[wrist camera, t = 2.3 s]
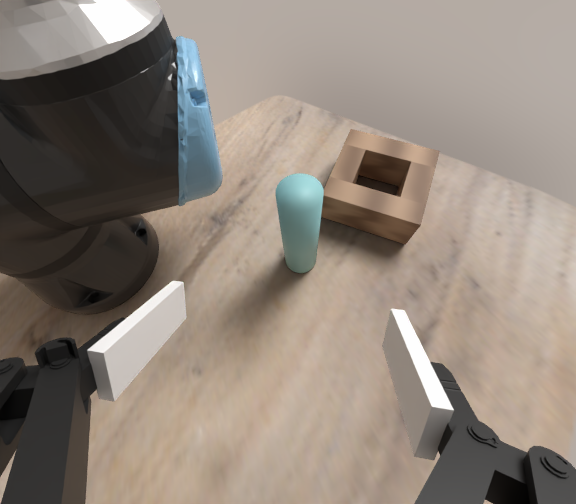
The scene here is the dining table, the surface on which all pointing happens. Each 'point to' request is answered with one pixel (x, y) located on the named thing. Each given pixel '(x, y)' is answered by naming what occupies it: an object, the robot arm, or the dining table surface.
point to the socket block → (386, 168)
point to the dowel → (300, 219)
